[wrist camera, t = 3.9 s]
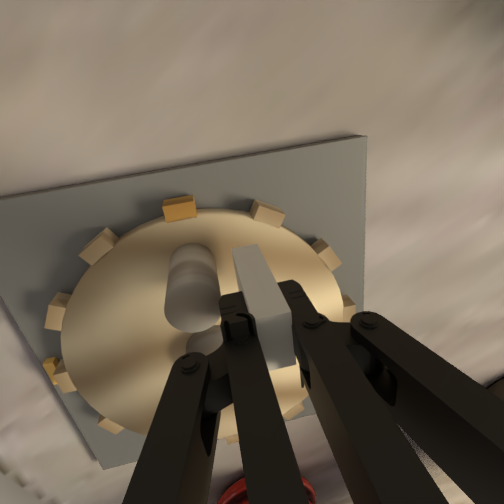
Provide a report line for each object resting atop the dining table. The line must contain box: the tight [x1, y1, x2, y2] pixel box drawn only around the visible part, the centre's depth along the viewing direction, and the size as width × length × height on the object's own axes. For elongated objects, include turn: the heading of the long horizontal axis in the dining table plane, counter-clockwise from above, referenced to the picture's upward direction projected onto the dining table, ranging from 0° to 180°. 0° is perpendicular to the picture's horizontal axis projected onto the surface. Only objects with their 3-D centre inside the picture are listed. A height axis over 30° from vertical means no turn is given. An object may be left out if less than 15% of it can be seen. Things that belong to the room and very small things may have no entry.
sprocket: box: [44, 195, 356, 444], centre depth 21 cm, size 22×22×6 cm
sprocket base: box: [0, 135, 367, 470], centre depth 24 cm, size 25×25×2 cm
